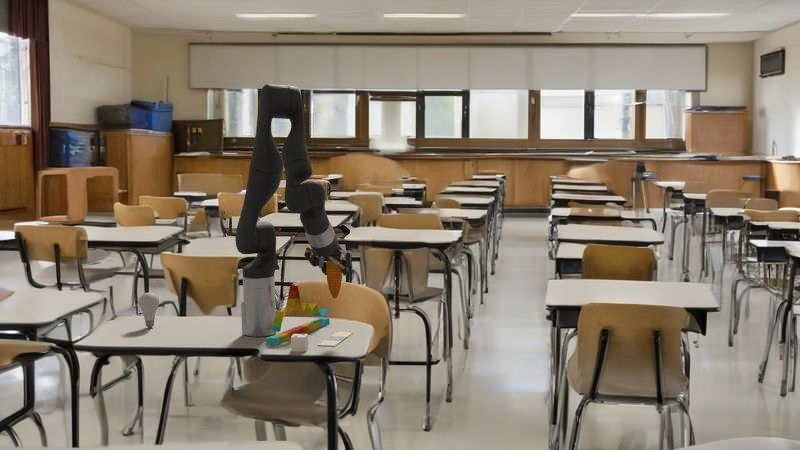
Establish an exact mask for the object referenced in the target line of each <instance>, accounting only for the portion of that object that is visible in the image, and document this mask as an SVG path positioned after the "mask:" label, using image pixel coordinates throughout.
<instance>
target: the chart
mask: <svg viewBox="0 0 800 450" xmlns="http://www.w3.org/2000/svg"><path fill="white" fill-rule="evenodd" d="M293 309H294V311H295V313H304V311H305V312H311V313H312V315H313V316H315V317H319V318H317V319H313V320H311V321H308V322H306V323H303V324H301V325H299V326H295V327H292V328H290V329H287V330H285V331H282V332H281V328H282V324H283V320H284V318H285V317H284V315H285V314H290V313H291V312H292V311H293ZM329 311H330V309H329V308H321V309H319V307H318V304H317V303H310V302H309V303H308V302H304V301H302V300H301V295H300V290H299V286H298V285H292V284H291V285H289V289H288V294H287V301H286V305H285V307H284V308H283V309H282V310H277V311H276V316H275V320H274V324H273V328H272V330H267V331H270V332H276V333H277V334H273V335H270V336H267V337H266V338H265V342H266V345H272V346H277V345H279V344H282V343H285V342H286V341H288V340H289V341H290V340H291V336H292V335H293V334H308V333H310V332H312V331H314V330H317V329H319V328H321V327H322V328H323V327H324V326H326V325H330V322H331V321H330V318H329V317H326V316H327V314H328V313H329ZM279 332H280V333H279Z"/></svg>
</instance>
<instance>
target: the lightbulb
mask: <svg viewBox="0 0 800 450" xmlns="http://www.w3.org/2000/svg"><path fill="white" fill-rule="evenodd" d="M159 305H160V300H159V296H158V295H156V293H154V292H145V293H143V294H141V296H140V297H139V299H138V306H139V308H140V311H142V314H143V318H144V323H145V327H147V328H149V329H152V328H153V327H154V326H155V319H156V312H157V310H158V308H159Z"/></svg>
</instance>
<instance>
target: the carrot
mask: <svg viewBox="0 0 800 450" xmlns="http://www.w3.org/2000/svg"><path fill="white" fill-rule="evenodd" d="M325 262H326V274H327V275H326V282H327V285H328V289H329V292H330V295H331V296H332V298H333V299H334V300H335V299H337V297H338V296H339V294H340V290H341V287H342V286H341V285H342V281H343V273H342V271H341V267H340V266H339V265H336V264H335V263H334V262H333V261H325ZM341 262H342V261H341Z"/></svg>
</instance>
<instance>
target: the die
mask: <svg viewBox="0 0 800 450" xmlns="http://www.w3.org/2000/svg"><path fill="white" fill-rule="evenodd" d="M308 348H309V334H308V333H304V334H293V335H292V336H291V339H290V351H291V352H307V350H308Z"/></svg>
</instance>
